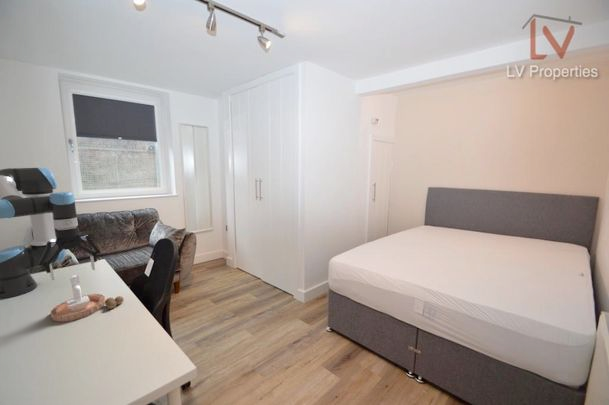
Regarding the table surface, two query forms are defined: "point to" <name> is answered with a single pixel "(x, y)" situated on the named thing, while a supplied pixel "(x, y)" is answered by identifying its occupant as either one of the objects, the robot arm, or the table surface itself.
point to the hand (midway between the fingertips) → (74, 274)
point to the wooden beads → (113, 302)
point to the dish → (66, 314)
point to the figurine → (77, 296)
